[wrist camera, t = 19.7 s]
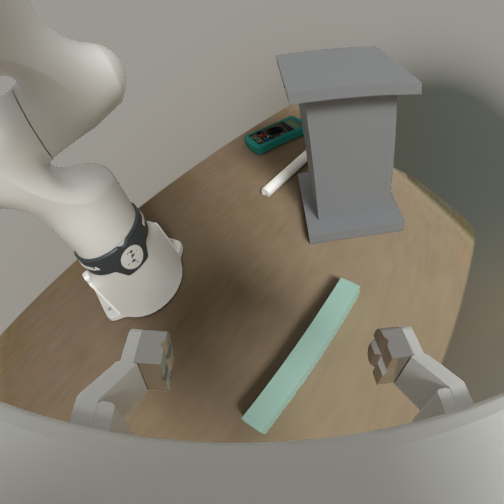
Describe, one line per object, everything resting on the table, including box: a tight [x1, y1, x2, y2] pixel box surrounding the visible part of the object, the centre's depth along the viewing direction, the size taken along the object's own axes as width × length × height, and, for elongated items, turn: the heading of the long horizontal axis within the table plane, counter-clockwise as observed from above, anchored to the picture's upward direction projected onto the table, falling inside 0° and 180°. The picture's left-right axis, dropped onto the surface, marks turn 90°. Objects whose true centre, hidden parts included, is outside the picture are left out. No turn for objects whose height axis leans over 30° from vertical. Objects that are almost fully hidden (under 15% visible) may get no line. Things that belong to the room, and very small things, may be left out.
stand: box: [276, 46, 422, 244], centre depth 44 cm, size 16×16×26 cm
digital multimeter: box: [245, 116, 304, 154], centre depth 71 cm, size 7×15×3 cm, turn 117°
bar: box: [241, 278, 360, 434], centre depth 38 cm, size 23×3×3 cm, turn 143°
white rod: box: [261, 150, 308, 197], centre depth 62 cm, size 18×2×2 cm, turn 138°
